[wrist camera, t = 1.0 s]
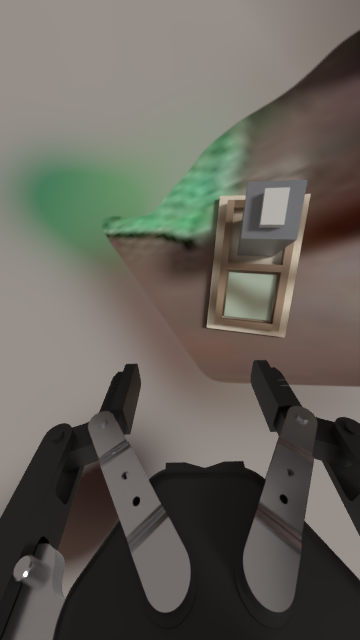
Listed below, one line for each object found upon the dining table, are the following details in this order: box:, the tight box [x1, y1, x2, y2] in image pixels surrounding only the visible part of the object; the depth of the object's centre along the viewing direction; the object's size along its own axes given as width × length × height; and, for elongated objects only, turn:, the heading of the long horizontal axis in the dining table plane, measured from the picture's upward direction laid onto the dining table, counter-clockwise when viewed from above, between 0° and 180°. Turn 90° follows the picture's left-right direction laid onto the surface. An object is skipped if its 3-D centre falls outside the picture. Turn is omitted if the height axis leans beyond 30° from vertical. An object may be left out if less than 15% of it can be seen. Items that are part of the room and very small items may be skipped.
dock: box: [207, 194, 310, 337], centre depth 29 cm, size 20×12×2 cm, turn 176°
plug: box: [237, 180, 307, 257], centre depth 23 cm, size 5×5×12 cm
